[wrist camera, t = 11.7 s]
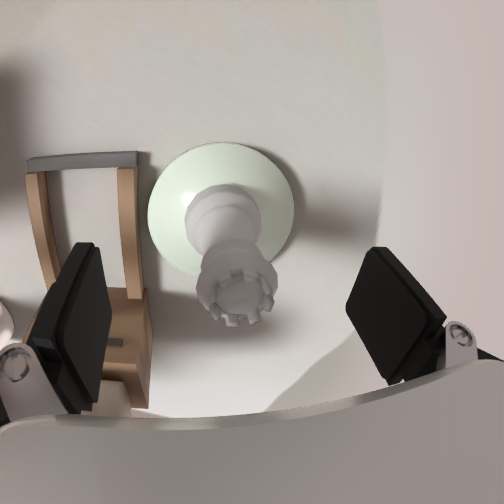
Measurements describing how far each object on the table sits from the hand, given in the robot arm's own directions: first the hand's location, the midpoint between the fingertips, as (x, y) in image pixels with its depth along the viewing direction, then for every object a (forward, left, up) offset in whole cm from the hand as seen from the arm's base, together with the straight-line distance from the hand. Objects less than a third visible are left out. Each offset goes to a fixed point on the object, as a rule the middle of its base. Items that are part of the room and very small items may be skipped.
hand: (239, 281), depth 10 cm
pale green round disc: (+1, 0, -9) cm, 10 cm away
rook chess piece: (+1, 0, -9) cm, 9 cm away
